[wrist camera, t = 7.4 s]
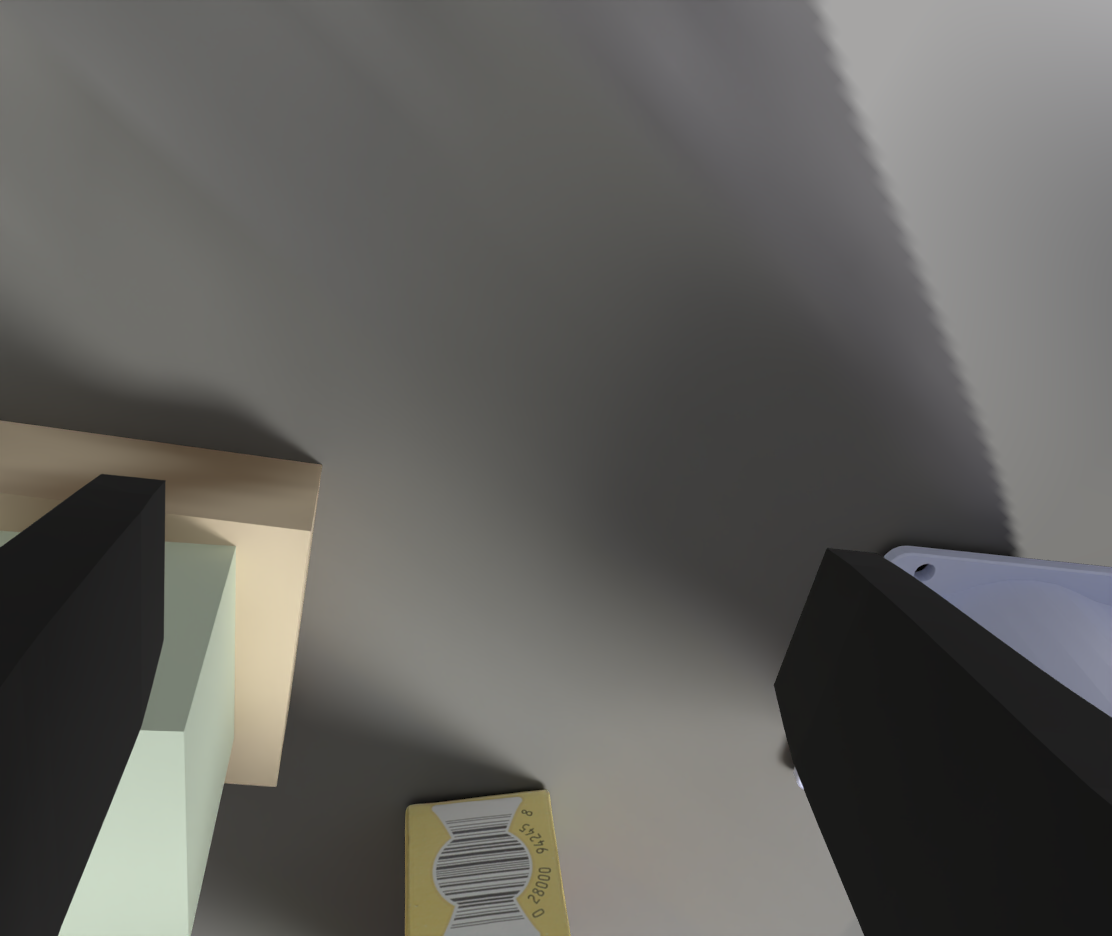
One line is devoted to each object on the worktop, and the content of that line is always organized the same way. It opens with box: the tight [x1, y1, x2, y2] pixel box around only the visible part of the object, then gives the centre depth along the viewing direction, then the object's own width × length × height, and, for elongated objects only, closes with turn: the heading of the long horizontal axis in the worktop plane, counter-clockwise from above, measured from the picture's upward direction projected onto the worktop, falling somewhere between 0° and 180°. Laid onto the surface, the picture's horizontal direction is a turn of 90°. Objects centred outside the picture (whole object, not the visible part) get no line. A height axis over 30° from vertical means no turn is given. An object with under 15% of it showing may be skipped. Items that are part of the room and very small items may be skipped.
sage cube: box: [0, 531, 236, 936], centre depth 18 cm, size 5×5×5 cm
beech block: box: [0, 420, 322, 787], centre depth 22 cm, size 7×7×3 cm
